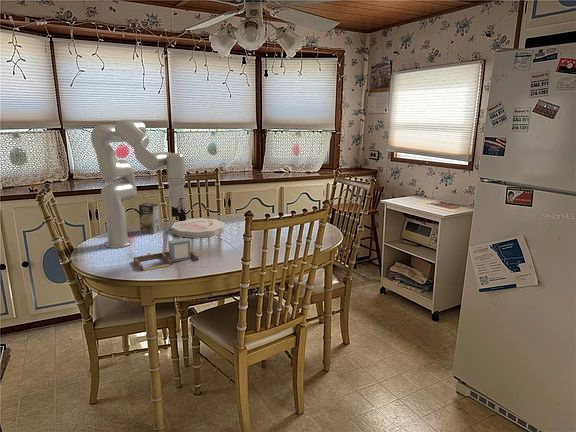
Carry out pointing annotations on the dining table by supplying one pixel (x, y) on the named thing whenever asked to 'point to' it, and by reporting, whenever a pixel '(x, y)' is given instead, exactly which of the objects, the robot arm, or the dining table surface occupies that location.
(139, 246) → the dining table surface
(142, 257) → the frame
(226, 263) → the dining table surface
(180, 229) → the decorative plaque
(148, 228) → the coffee box
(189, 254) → the pale gray rectangular prism
